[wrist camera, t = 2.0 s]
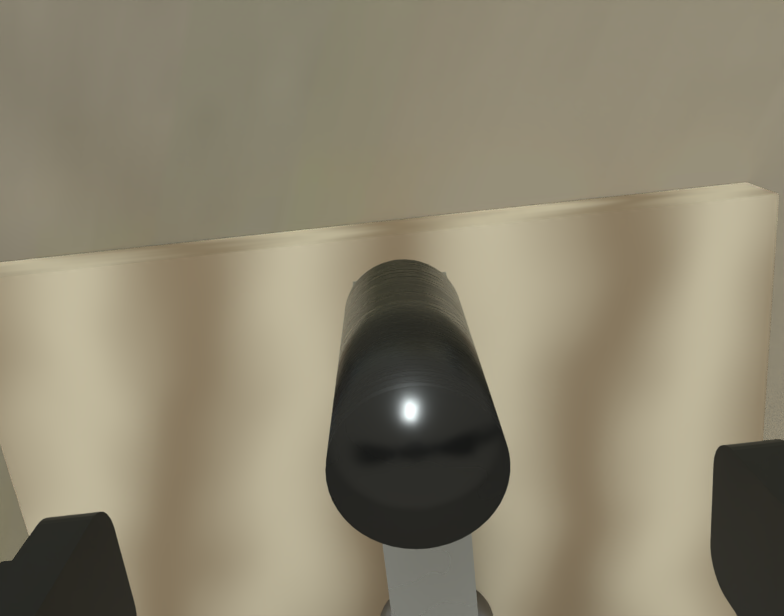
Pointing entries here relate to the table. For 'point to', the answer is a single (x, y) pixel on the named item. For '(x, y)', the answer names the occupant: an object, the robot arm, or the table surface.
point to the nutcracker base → (317, 386)
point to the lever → (415, 436)
